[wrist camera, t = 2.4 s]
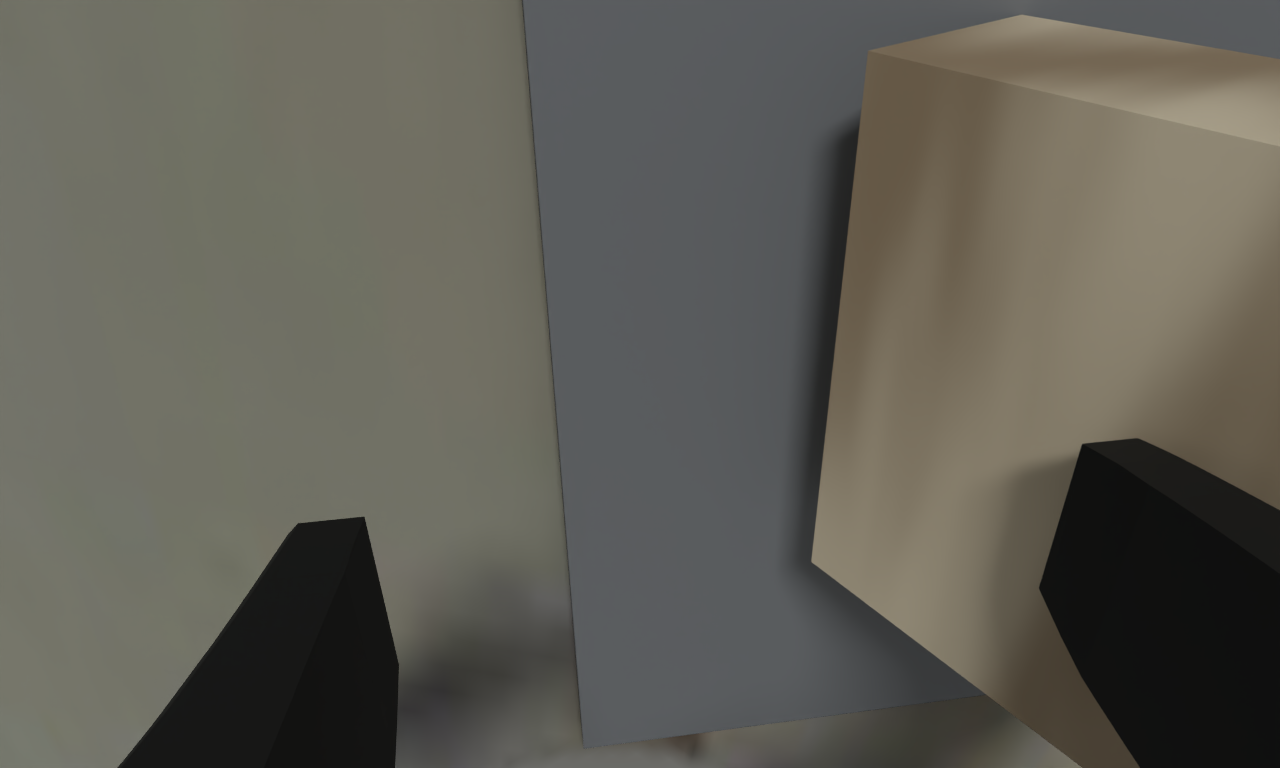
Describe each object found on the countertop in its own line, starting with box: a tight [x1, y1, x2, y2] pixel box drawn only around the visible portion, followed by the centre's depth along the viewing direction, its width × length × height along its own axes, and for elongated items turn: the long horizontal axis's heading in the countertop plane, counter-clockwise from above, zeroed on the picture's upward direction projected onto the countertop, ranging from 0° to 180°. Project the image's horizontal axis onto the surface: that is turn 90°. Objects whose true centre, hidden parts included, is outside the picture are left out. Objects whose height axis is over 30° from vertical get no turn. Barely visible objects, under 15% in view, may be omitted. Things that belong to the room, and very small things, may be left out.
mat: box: [522, 0, 1280, 749], centre depth 15 cm, size 18×20×1 cm
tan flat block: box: [811, 15, 1280, 768], centre depth 11 cm, size 3×8×8 cm, turn 1°
